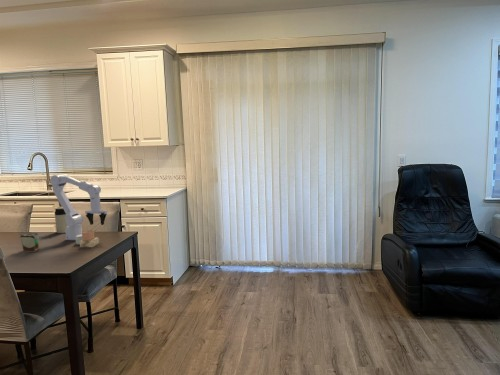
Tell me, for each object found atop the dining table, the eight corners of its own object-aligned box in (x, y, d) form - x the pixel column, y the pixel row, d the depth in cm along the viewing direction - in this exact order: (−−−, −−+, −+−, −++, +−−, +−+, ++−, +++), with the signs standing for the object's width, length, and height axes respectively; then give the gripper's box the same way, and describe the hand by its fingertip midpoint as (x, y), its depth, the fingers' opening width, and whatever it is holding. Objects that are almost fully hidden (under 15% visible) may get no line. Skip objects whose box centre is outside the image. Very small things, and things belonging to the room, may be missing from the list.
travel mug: (56, 234, 256) (54, 208, 254) (56, 231, 263) (54, 207, 261) (69, 232, 260) (66, 207, 257) (68, 230, 267) (66, 205, 264)
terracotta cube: (82, 240, 224) (81, 232, 223) (87, 238, 229) (86, 230, 228) (89, 240, 223) (89, 232, 222) (94, 238, 228) (94, 230, 227)
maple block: (80, 247, 223) (79, 241, 222) (86, 243, 231) (86, 237, 230) (92, 247, 222) (92, 241, 222) (99, 243, 230) (98, 237, 230)
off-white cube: (76, 244, 229) (75, 236, 228) (79, 242, 234) (78, 234, 233) (84, 244, 229) (83, 236, 229) (87, 241, 234) (86, 234, 234)
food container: (45, 249, 221) (44, 233, 219) (37, 252, 215) (35, 235, 213) (30, 247, 225) (28, 231, 223) (21, 250, 219) (19, 234, 217)
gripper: (81, 205, 234) (83, 225, 235) (102, 205, 231) (103, 226, 233) (88, 203, 240) (89, 223, 242) (108, 203, 238) (110, 223, 240)
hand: (97, 224), depth 238 cm, fingers open, 7 cm apart
